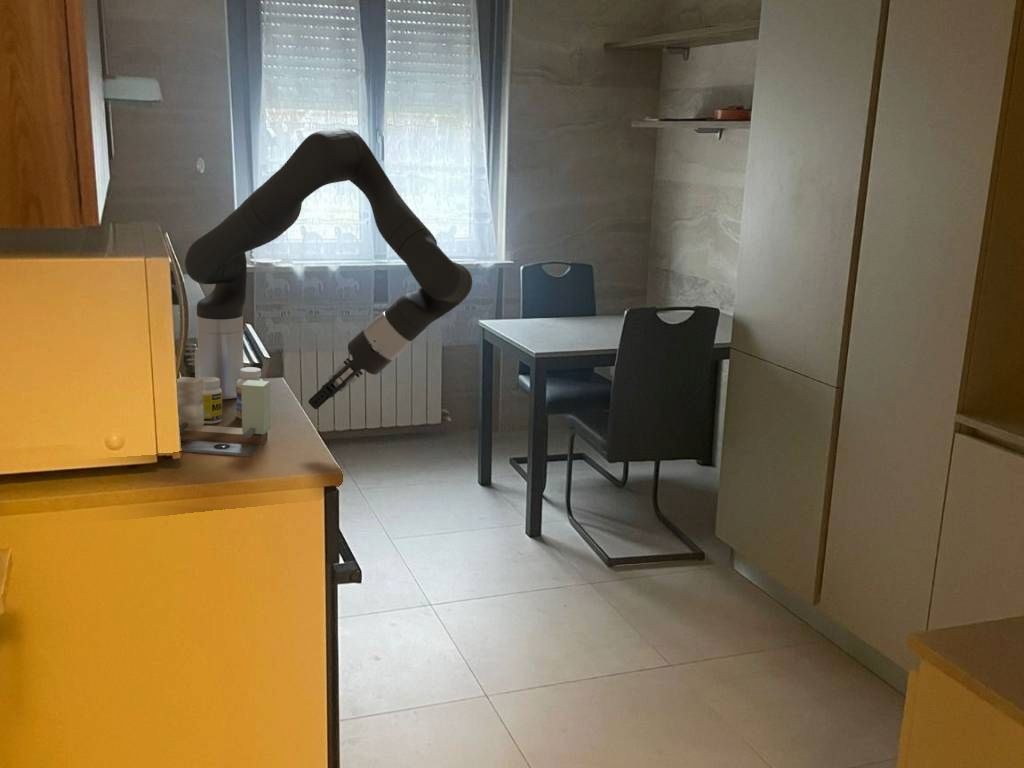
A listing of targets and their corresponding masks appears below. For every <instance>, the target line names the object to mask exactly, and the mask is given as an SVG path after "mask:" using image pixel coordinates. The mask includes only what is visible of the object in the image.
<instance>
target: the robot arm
mask: <svg viewBox="0 0 1024 768" xmlns="http://www.w3.org/2000/svg"><path fill="white" fill-rule="evenodd" d="M346 181H349V182H351V184H353V185H355V187H357V188H358V190H360V192H362V193H363V194H364V195H365V198H367V200H368V202H369V204H370V207H371V210H372V214H373V219H374V222H375V225H376V227H377V231H378V232H379V233H380V235H381V237H382V239H384V241H385V242H386V243H387V244H388V246H390V247H389V248H391V249H392V250H393V251H394V253H395V254H396V255H397V256H398V257H399V259H401V261H403V262H404V263H405V264H406V266H407V268H408V269H409V272H410V273H411V275H412V277H413V278H414V279H415V280H416V282H417V284H418V285H419V288H418V289H417V290H415V291H413V292H408V293H405V294H403V295H401V296H400V297H399V298H398V299H396V301H394V303H392V304H391V306H389V307H388V308H387V309H386V310H385V311H384V312H383V313H381V314H380V315H378V316H377V317H375V318H374V319H373V320H372V321H370V323H369V324H367V326H364V328H363V329H362V330H361V331H360V332H358V334H356V335H355V337H353V339H351V340H350V341H349V342H348V344H347V350H348V353H349V355H351V358H352V359H351V358H349V357H347V358H345V360H343V362H341V363H340V364H339V365H338V366H337V369H336V370H335V371H334V372H333V373H332V374H330V375H329V376H328V378H327V379H328V381H326V382H325V383H324V384H322V385H321V387H320V389H319V390H318V391H317V392H316V393H315V394H314V395H312V396H311V397H310V398H309V399H308V404H309V405H310V406H311V407H312V409H314V410H318V409H319V408H320V407H321V406H322V405H323V404H324V403H326V402H327V400H329V399H331V398H333V397H334V396H335V395H337V393H338V392H343V391H344V390H345V389H346V388H348V387H349V385H350V384H352V383H353V384H354V383H355V382H356V381H357V380H358V379H359V378H360V377H361V376H362V375H363V374H364V373H363V371H362V370H364V371H366V372H367V373H368V374H370V375H373V376H375V375H378V374H379V373H381V372H382V371H383V370H384V369H385V368H386V367H387V366H388V365H389V364H390V363H391V362H393V361H395V359H396V358H397V357H398V356H399V355H400V354H401V353H403V351H404V350H405V349H406V348H407V347H408V346H409V345H410V344H411V342H413V341H414V340H415V339H416V338H417V337H418V336H419V335H420V334H421V333H422V332H424V330H425V329H427V328H428V326H430V325H431V324H433V322H435V321H436V320H438V319H440V318H441V317H443V316H444V315H446V314H447V313H449V312H450V311H452V310H453V309H455V308H456V307H457V306H459V305H460V304H461V303H462V302H463V301H464V300H465V299H466V298H467V296H468V295H469V294H470V293H471V290H472V286H473V277H472V275H471V272H470V271H469V269H467V268H466V267H465V265H462V264H459V263H457V262H455V261H453V260H452V259H450V258H449V257H448V256H447V255H446V253H444V251H443V250H442V249H441V248H440V247H439V246H438V243H437V242H438V241H437V239H436V238H435V236H434V235H433V233H432V232H431V231H430V230H429V228H428V227H427V226H426V225H425V224H424V223H423V222H422V220H421V219H420V218H419V217H418V216H417V215H416V214H415V212H414V211H413V210H412V209H411V208H410V207H409V206H408V205H407V203H406V202H405V201H404V199H403V198H402V196H400V194H399V193H398V191H397V190H396V187H394V185H393V183H392V181H391V180H390V179H389V177H388V175H387V174H386V172H385V170H384V169H383V168H382V166H381V164H380V163H379V161H378V160H377V158H376V157H375V155H374V152H373V151H372V149H371V148H370V147H369V146H368V144H367V142H366V141H365V140H364V138H362V136H361V135H360V134H359V133H357V132H356V131H354V130H353V129H350V128H336V129H327V130H326V129H325V130H319V131H316V132H313V133H311V134H309V135H308V136H306V138H305V139H303V141H302V142H301V143H300V145H299V146H298V147H297V148H296V149H295V151H294V152H293V153H292V154H291V155H290V157H289V158H288V159H287V160H286V162H285V163H284V164H283V165H282V166H281V167H280V168H279V169H278V170H277V171H276V172H275V173H273V175H271V176H270V177H269V178H268V179H267V180H266V181H265V182H263V184H262V185H260V186H259V187H258V188H257V189H255V190H254V191H253V192H252V193H251V194H250V195H249V196H248V197H247V198H246V199H245V200H244V201H243V202H242V203H241V204H240V205H239V206H238V207H237V208H236V209H234V211H232V212H231V213H230V214H229V215H228V216H227V217H225V218H224V219H223V221H222V222H220V223H219V224H218V225H217V226H216V227H214V228H212V229H211V230H210V231H208V232H207V233H205V234H204V235H202V236H200V237H199V238H198V239H196V240H195V241H194V242H192V244H191V245H190V246H189V248H188V250H187V252H186V255H185V260H184V266H185V271H186V274H187V276H189V278H190V279H192V280H193V281H194V282H196V283H198V284H200V285H201V284H202V285H214V288H213V290H212V291H211V292H210V293H209V294H208V295H206V296H204V297H203V298H201V299H200V300H199V301H198V302H197V303H196V326H197V327H196V329H197V332H196V333H197V348H196V349H195V350H194V378H203V377H216V378H219V379H220V386H219V388H221V390H222V400H232V399H237V392H236V383H237V381H238V380H239V379H241V377H240V369H242V368H244V322H243V321H244V320H243V319H244V318H243V314H244V313H243V310H244V305H245V303H246V298H247V296H246V295H247V293H246V292H247V273H248V264H247V263H248V262H247V261H248V260H247V256H246V253H247V252H250V251H252V250H255V249H257V248H259V247H261V246H264V245H266V244H269V243H270V242H272V241H274V240H276V239H278V238H279V237H280V236H281V235H283V233H284V232H286V231H287V230H289V228H291V227H292V226H293V225H294V224H295V223H296V221H297V220H298V219H299V216H300V214H301V211H302V206H303V202H304V201H305V199H307V198H308V197H309V196H311V194H312V193H314V192H316V191H317V190H319V189H320V188H322V187H324V186H327V185H330V184H336V183H340V182H346Z"/></svg>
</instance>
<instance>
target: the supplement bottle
mask: <svg viewBox="0 0 1024 768" xmlns="http://www.w3.org/2000/svg"><path fill="white" fill-rule="evenodd" d="M219 386H220V379H219V378H216V377H203V410H204V425H205V424H206V425H213V424H218V423H221V422H222V421H223V399H222V390H221V388H219Z"/></svg>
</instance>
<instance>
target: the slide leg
mask: <svg viewBox="0 0 1024 768" xmlns="http://www.w3.org/2000/svg"><path fill="white" fill-rule="evenodd" d="M270 383H271V382H270V381H268V380H263V381H256V380H247V381H246V382H245V383H243V384H242V385H241V386H242V419H241V428H242V433H244V434H245V438H249V437H250V436H252V435H253V434H265V433H266V432H267V433H268V431H269V430H270V429H271V388H270V387H271V386H270V385H271V384H270Z"/></svg>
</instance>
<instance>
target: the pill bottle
mask: <svg viewBox="0 0 1024 768" xmlns="http://www.w3.org/2000/svg"><path fill="white" fill-rule="evenodd" d="M261 376H262V369H261V368H259V367H253V366H249V367H247V366H246V367H243V368H242V369H240V377H241V379H239V380H238V381H237V383H236V392H237V398H236V417H237V418H238V419H240V420H242V386H241V385H242V384H243V383H245V382H246V381H247V380H256V381H264V380H263V379H262V378H261Z"/></svg>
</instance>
